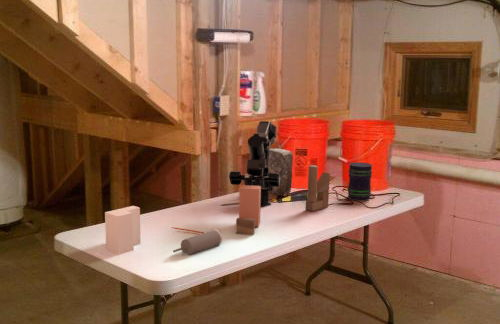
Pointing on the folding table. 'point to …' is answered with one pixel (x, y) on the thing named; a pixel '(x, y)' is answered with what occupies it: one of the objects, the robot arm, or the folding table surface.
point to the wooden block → (317, 189)
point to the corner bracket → (122, 229)
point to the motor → (199, 241)
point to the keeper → (250, 202)
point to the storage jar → (359, 181)
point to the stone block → (281, 169)
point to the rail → (245, 226)
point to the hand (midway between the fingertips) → (252, 197)
